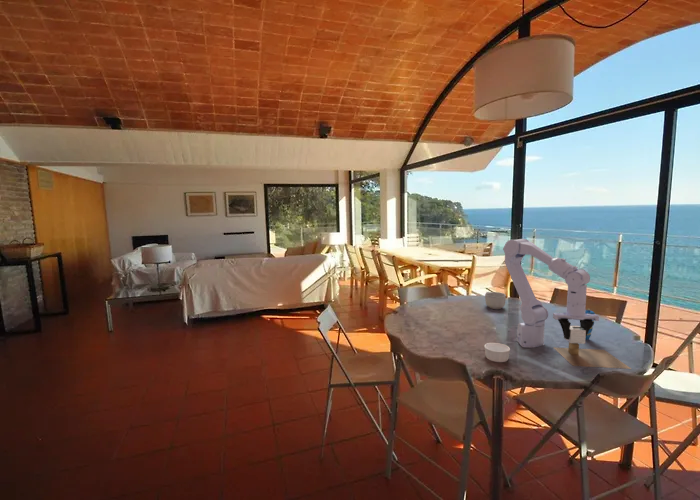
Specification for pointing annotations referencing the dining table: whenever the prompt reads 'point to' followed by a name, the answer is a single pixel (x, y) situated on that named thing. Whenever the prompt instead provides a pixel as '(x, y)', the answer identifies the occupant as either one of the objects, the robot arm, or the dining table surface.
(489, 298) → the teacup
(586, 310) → the ornament
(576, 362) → the board
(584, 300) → the robot arm
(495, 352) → the ramekin
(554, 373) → the dining table surface
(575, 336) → the beige cube
